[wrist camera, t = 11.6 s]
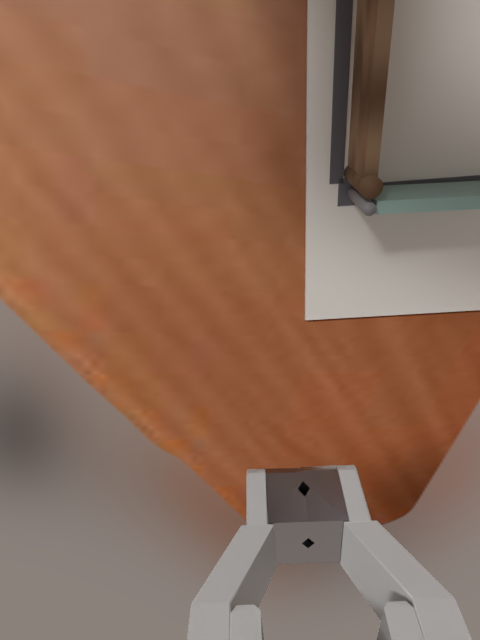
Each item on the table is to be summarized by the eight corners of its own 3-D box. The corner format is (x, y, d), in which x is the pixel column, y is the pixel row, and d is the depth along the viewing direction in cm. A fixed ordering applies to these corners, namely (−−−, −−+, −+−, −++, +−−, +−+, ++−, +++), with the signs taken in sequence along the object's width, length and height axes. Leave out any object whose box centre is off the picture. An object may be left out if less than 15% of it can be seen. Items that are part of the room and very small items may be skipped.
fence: (354, -26, 27) (379, -52, 22) (377, -28, 27) (408, -55, 22) (343, 183, 34) (360, 199, 29) (361, 181, 34) (381, 198, 29)
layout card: (307, -23, 28) (308, -25, 27) (603, -54, 27) (609, -56, 26) (304, 318, 42) (305, 320, 42) (498, 307, 41) (500, 309, 40)
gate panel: (346, 198, 35) (362, 216, 30) (347, 186, 34) (363, 203, 29) (497, 190, 34) (538, 207, 29) (501, 178, 34) (543, 194, 29)
